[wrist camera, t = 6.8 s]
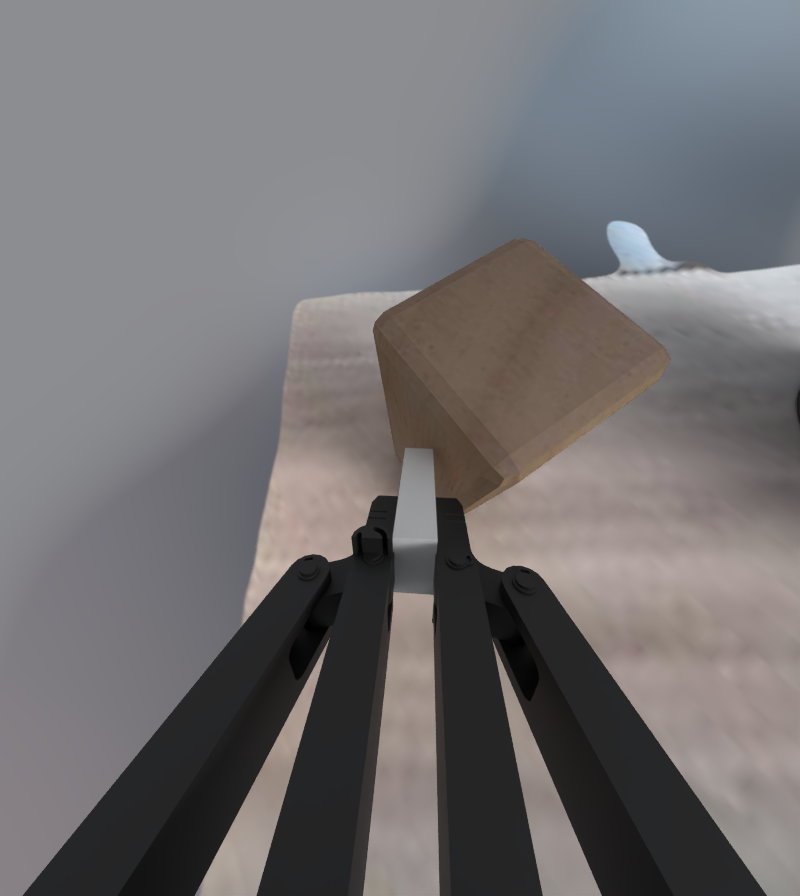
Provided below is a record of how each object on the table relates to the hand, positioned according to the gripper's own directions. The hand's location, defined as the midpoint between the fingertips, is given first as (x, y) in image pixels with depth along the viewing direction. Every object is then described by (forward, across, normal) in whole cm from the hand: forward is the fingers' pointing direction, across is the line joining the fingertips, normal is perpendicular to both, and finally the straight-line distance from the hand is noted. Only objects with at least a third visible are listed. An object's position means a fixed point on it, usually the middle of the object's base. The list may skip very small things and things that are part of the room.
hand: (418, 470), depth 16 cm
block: (+14, +4, -8) cm, 17 cm away
